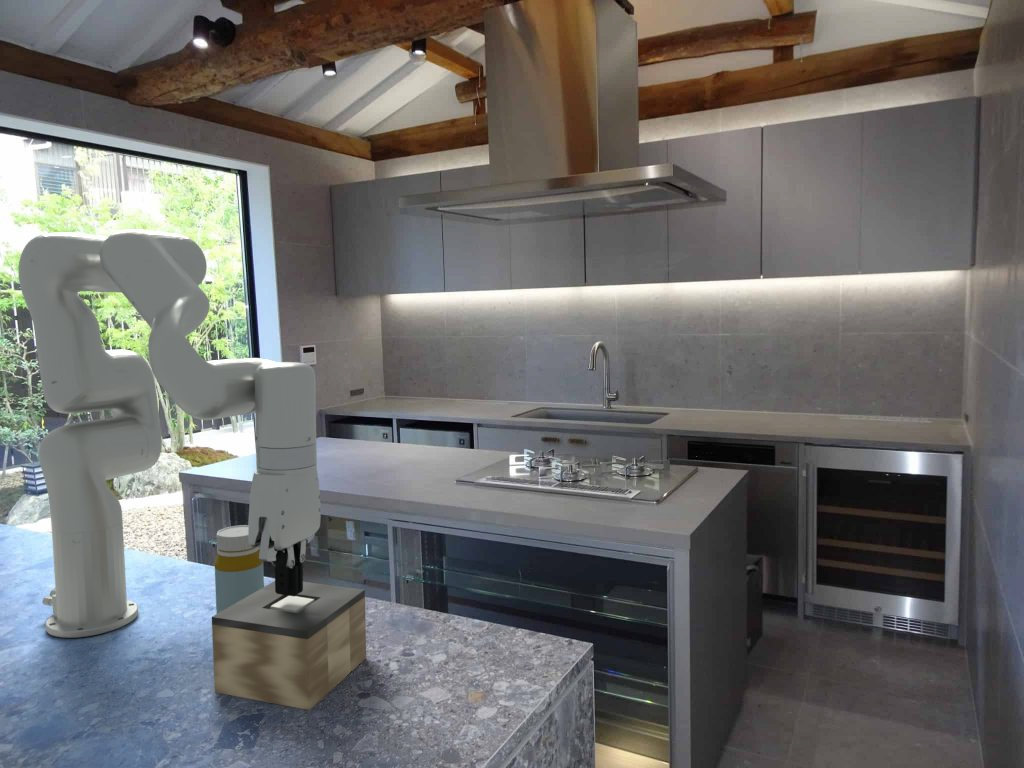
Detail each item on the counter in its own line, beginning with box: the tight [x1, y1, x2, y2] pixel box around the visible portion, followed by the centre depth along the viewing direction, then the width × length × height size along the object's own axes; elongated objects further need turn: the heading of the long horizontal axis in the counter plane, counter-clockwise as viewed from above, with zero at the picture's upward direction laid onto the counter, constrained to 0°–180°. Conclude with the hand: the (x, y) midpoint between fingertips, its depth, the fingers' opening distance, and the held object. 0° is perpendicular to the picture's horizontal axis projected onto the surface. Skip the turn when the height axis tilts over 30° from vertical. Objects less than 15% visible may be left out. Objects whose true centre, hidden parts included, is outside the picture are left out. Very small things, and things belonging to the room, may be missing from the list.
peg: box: [270, 596, 314, 613], centre depth 96 cm, size 4×4×10 cm
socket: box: [211, 580, 367, 711], centre depth 96 cm, size 14×14×10 cm
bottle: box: [214, 524, 265, 614], centre depth 112 cm, size 7×7×15 cm
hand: (289, 592), depth 96 cm, fingers closed
